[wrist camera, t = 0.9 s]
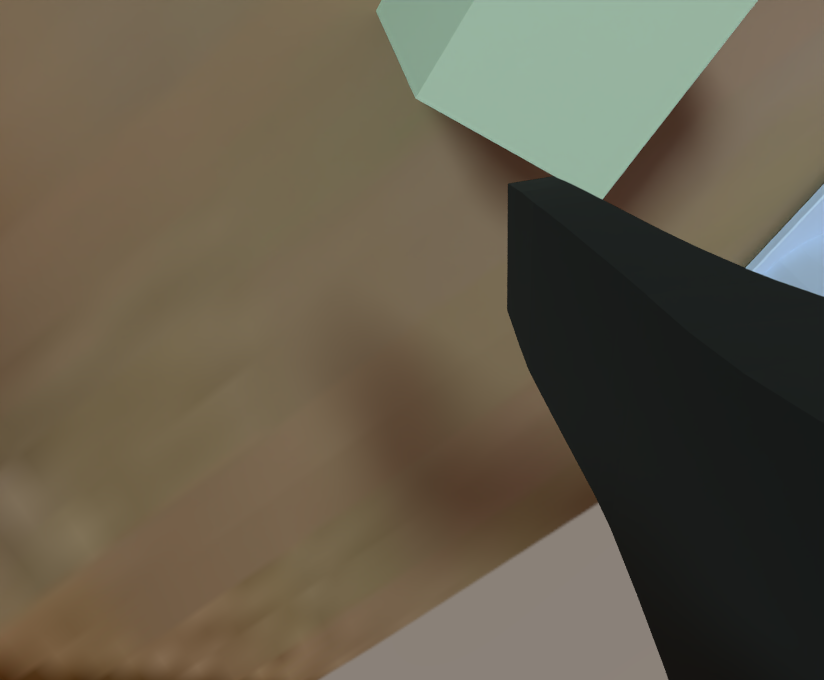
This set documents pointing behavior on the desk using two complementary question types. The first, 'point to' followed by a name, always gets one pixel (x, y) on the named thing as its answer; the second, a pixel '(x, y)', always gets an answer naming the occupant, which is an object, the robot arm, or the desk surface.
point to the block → (559, 72)
